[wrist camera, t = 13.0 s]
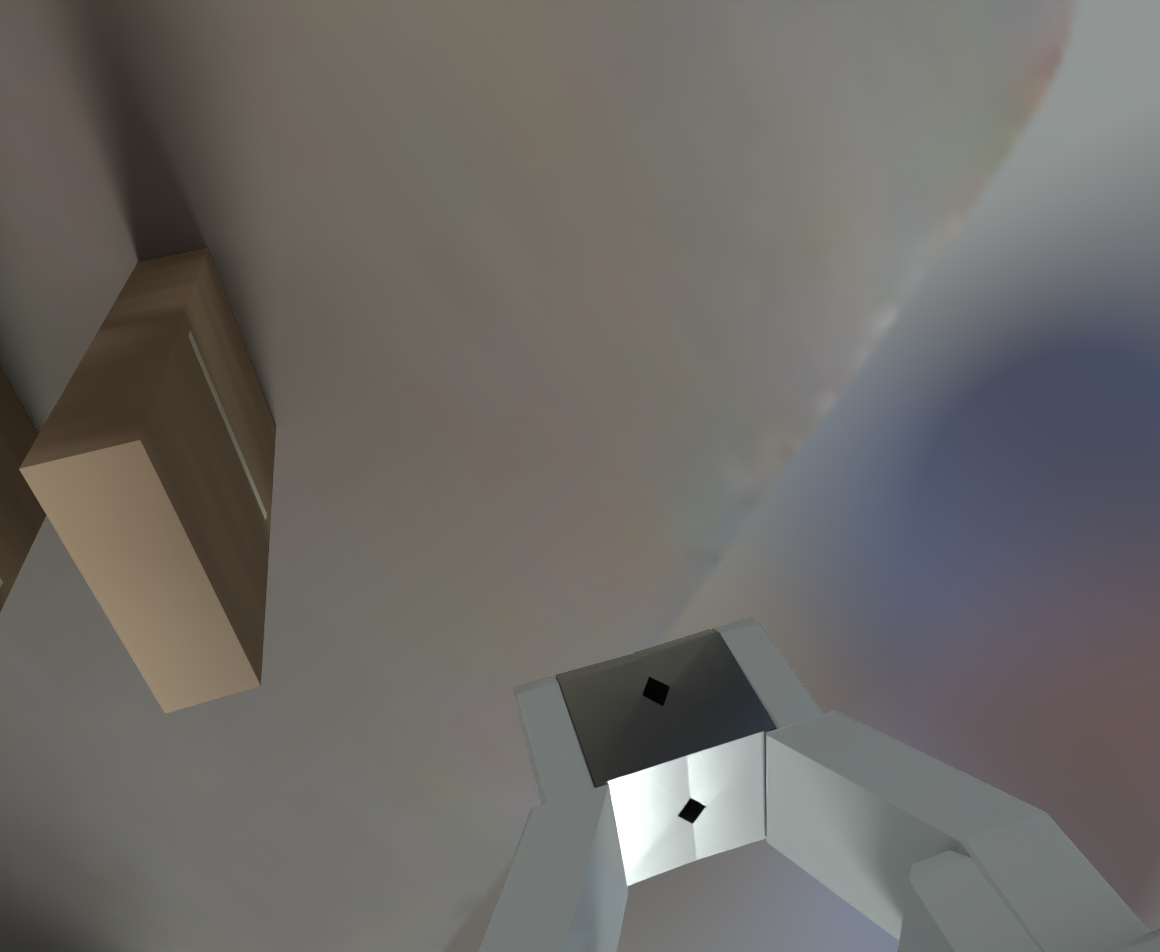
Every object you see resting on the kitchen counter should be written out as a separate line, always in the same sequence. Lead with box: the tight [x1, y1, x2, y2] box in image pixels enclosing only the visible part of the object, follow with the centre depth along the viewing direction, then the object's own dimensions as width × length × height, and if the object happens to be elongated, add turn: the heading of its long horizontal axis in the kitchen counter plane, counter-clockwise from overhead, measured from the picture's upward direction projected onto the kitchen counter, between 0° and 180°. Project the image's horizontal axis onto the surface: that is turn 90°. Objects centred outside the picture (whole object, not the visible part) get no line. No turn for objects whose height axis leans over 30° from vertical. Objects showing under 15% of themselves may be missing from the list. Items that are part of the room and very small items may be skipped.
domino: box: [19, 248, 276, 714], centre depth 17 cm, size 2×5×10 cm, turn 7°
